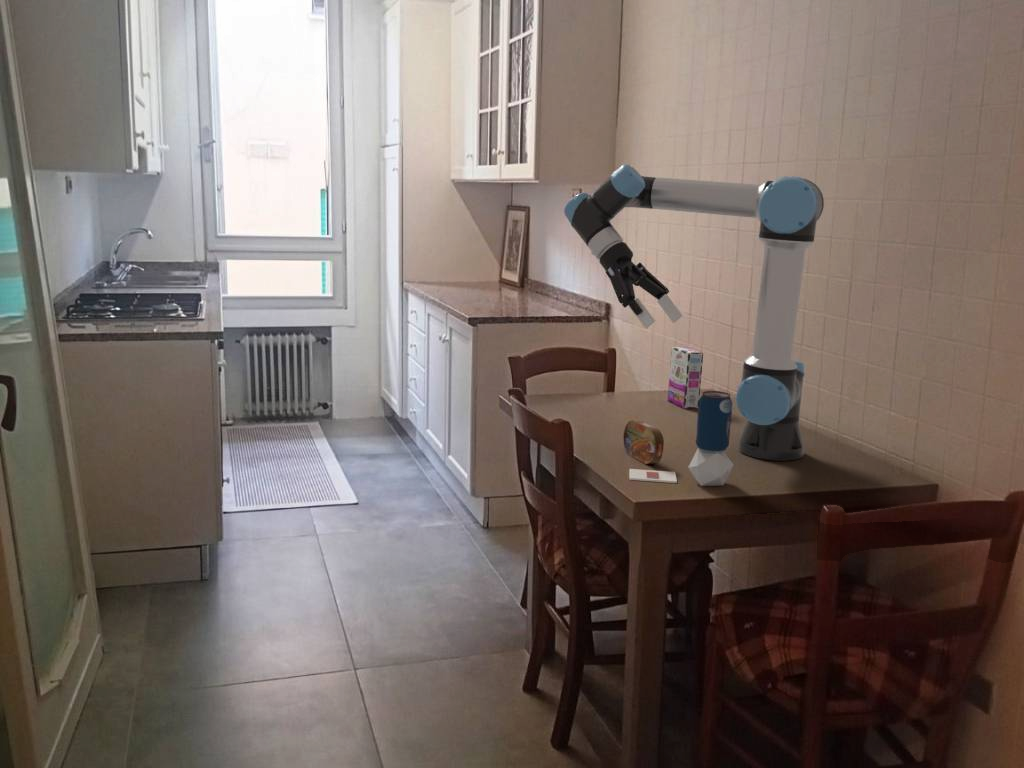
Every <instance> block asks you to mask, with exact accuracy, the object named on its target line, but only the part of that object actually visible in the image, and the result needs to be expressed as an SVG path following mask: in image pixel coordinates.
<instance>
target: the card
mask: <svg viewBox="0 0 1024 768" xmlns="http://www.w3.org/2000/svg"><path fill="white" fill-rule="evenodd" d="M628 475H629V477H628V478H629V479H628V480H629V481H640V482H653V483H654V482H657V483H670V484H678V483H677V482H678V480H677V475H676V471H668V470H667V471H666V470H655V469H654V470H652V469H639V468H638V469H636V468H629V473H628Z"/></svg>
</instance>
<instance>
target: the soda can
mask: <svg viewBox="0 0 1024 768" xmlns="http://www.w3.org/2000/svg"><path fill="white" fill-rule="evenodd" d="M732 412H733V402H732V398H731V394H730V393H728V392H725V391H720V390H719V391H717V390H705V391H703V392H702V395H701V396H700V397H699V406H698V408H697V417H696V418H697V419H696V431H695V444H696V446H697V449H698V448H699V449H700V450H702V451H706V452H715V453H717V452H725V451H726V450H727V448H728V447H729V445H730V436H731V435H730V434H731V425H732V423H731V422H732Z"/></svg>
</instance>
